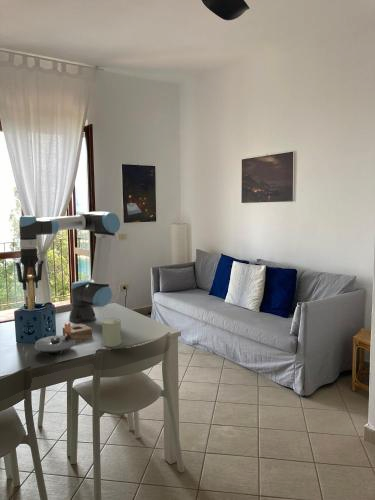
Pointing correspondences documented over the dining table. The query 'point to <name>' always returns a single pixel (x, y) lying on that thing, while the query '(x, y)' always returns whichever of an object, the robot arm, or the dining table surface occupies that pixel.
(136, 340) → the dining table surface
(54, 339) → the handwheel
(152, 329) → the dining table surface
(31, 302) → the hook pin
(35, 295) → the robot arm
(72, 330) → the brown square block
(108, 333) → the can
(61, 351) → the wheel base
